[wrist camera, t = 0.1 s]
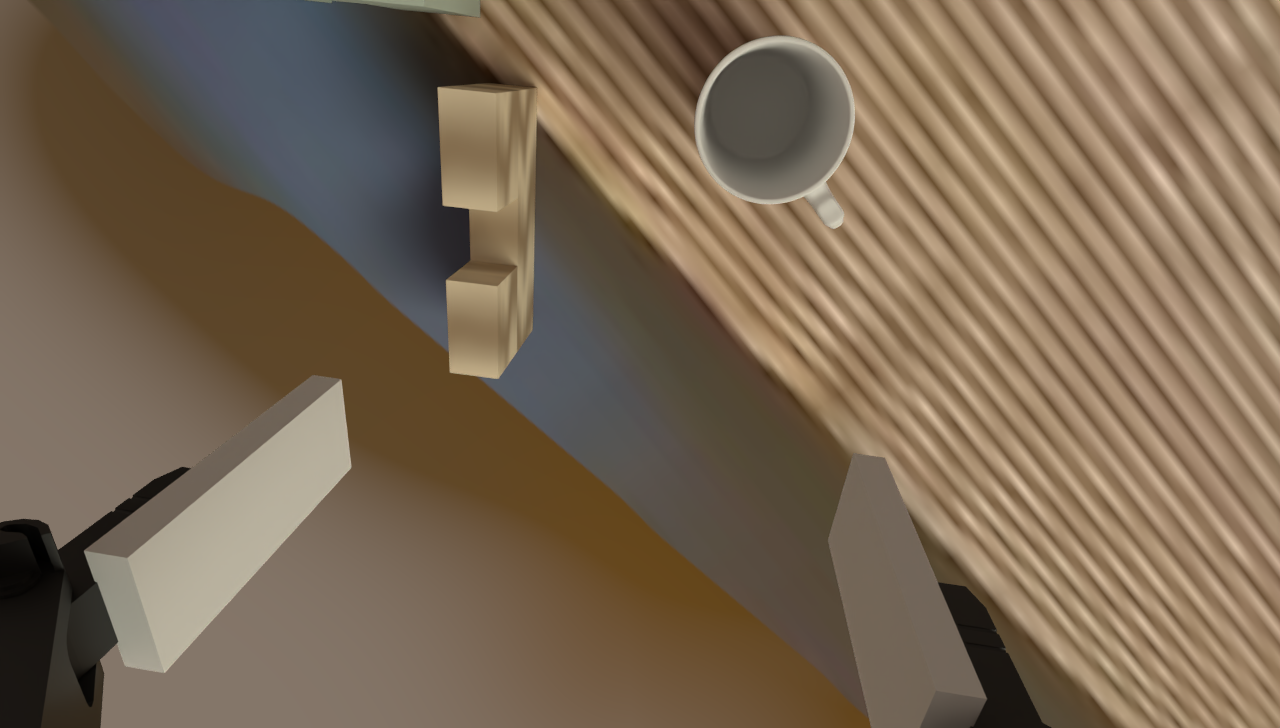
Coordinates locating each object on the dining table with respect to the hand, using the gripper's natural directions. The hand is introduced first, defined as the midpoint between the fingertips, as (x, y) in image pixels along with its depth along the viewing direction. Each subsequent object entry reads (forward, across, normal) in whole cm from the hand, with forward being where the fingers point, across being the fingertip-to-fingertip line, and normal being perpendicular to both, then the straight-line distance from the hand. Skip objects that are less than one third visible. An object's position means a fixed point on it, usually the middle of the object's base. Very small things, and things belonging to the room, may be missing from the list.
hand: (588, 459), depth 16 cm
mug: (+28, +6, +6) cm, 29 cm away
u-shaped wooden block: (+28, -10, -1) cm, 30 cm away
